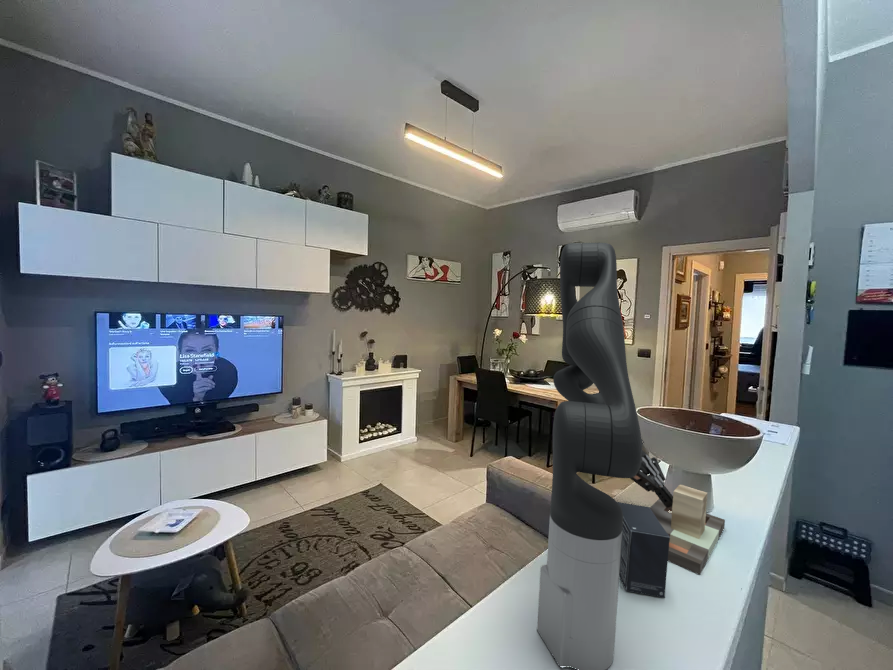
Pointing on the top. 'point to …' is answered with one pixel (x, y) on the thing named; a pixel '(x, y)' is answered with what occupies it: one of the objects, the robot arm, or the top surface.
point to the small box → (643, 551)
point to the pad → (705, 541)
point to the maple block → (689, 511)
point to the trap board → (696, 554)
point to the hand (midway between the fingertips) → (672, 505)
